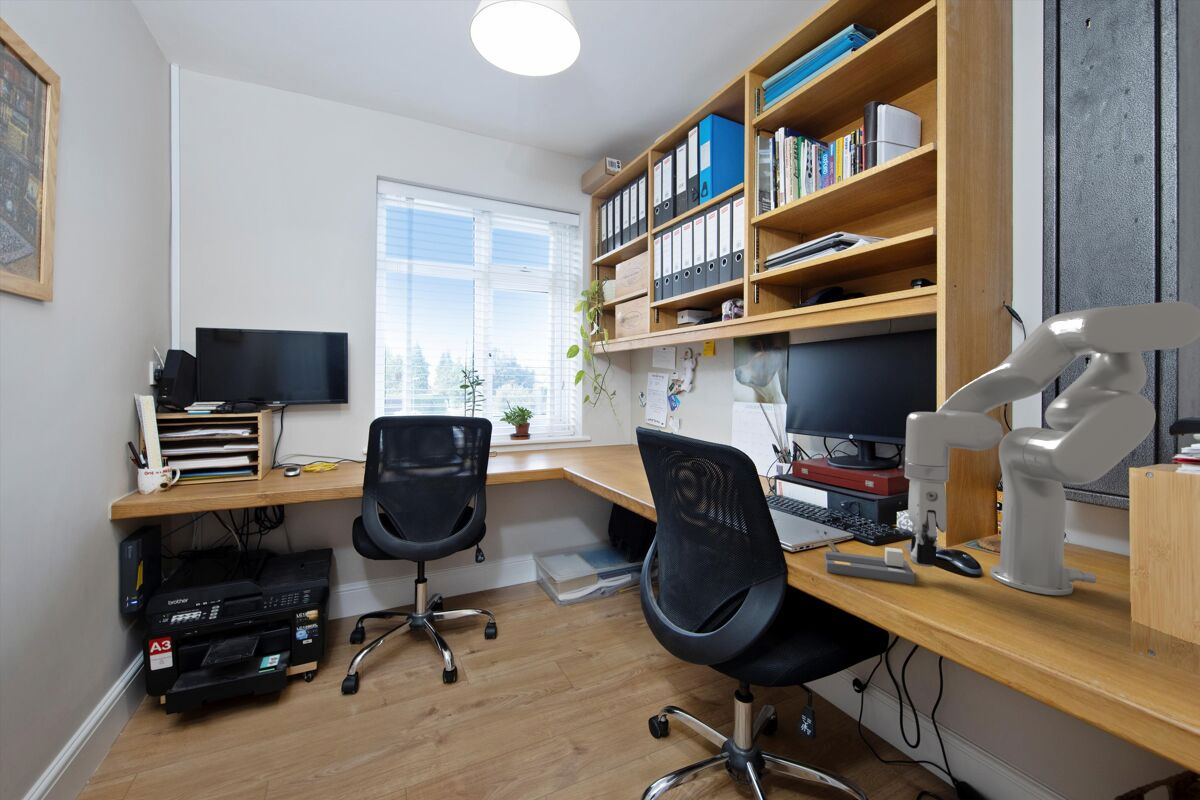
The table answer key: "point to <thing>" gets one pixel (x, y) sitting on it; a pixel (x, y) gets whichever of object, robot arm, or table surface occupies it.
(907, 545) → the rest mat
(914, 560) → the rook chess piece
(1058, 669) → the table surface
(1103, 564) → the table surface
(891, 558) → the switch tab
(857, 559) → the grey rectangular tray
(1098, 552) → the table surface
